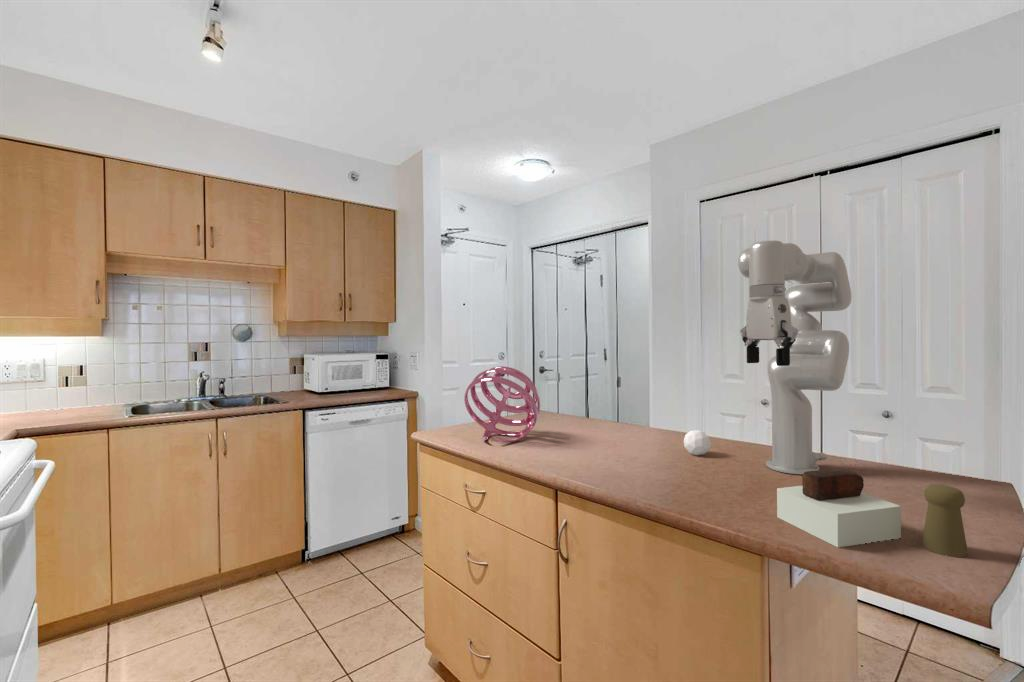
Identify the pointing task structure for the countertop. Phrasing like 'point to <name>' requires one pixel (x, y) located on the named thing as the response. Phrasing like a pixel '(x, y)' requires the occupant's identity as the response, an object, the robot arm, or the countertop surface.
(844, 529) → the sage block
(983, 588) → the countertop surface
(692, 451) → the ball
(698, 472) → the countertop surface
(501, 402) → the spiral basket
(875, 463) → the countertop surface
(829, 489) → the brick
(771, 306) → the robot arm
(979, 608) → the countertop surface
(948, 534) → the cork
